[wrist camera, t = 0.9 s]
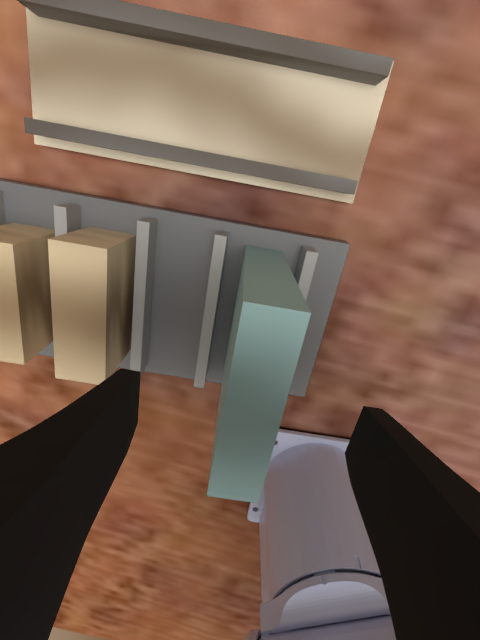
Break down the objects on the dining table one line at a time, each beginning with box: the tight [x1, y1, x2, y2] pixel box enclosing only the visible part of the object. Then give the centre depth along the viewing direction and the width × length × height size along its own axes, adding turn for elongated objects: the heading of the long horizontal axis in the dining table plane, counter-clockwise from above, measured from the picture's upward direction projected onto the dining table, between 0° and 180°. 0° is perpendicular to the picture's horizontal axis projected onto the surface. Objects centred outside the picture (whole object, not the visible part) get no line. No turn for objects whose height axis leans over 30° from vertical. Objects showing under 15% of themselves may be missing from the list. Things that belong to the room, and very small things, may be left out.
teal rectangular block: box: [207, 245, 311, 503], centre depth 15 cm, size 8×2×9 cm, turn 170°
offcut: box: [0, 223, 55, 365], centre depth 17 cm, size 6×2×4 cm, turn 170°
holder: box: [17, 0, 394, 204], centre depth 15 cm, size 6×16×2 cm, turn 80°
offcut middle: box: [48, 227, 136, 385], centre depth 17 cm, size 7×2×4 cm, turn 170°
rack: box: [0, 178, 350, 397], centre depth 19 cm, size 10×19×2 cm, turn 80°
